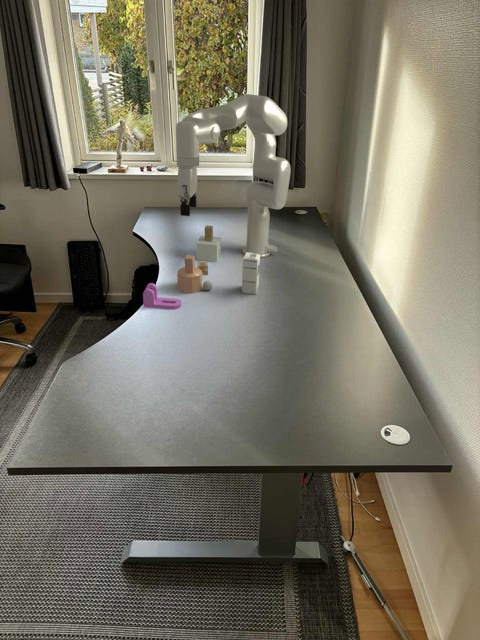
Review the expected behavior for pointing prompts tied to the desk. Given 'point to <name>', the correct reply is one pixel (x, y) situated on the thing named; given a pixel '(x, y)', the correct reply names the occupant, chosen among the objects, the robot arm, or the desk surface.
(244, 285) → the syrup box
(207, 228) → the white block
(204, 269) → the beech cube
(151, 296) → the bracket
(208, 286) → the grey ball
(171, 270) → the desk surface
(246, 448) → the desk surface
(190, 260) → the wooden octagon with knob
